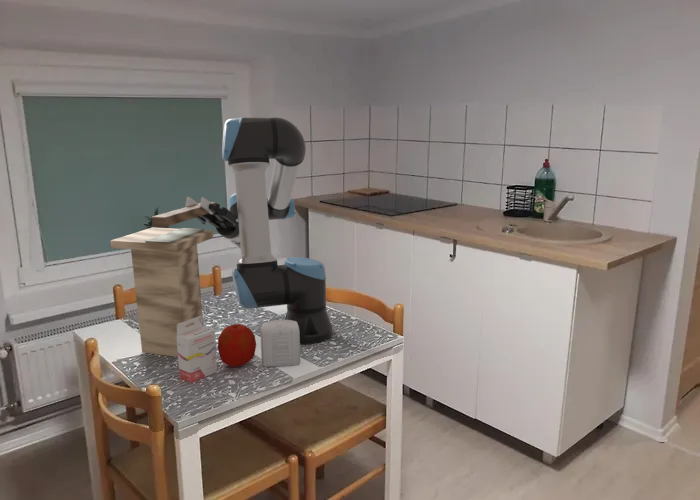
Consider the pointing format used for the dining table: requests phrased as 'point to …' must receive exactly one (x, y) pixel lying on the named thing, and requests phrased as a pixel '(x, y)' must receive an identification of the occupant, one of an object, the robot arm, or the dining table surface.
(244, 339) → the apple
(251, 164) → the robot arm
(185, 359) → the ink cartridge box
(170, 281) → the oak stand
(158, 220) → the walnut strip
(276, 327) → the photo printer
